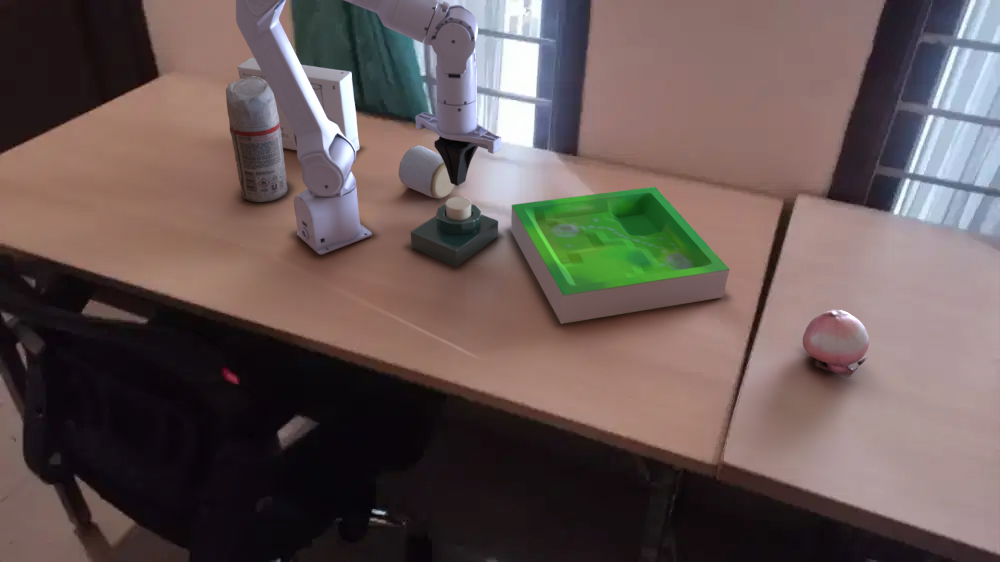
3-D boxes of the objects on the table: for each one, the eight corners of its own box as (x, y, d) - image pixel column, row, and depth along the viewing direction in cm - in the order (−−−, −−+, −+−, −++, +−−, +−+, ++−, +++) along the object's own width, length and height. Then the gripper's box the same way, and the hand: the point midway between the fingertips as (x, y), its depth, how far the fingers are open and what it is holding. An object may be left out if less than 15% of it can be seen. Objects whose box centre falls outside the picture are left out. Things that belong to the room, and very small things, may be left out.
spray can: (297, 182, 139) (280, 74, 127) (281, 205, 132) (263, 93, 121) (251, 179, 139) (230, 72, 128) (234, 202, 133) (210, 91, 121)
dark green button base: (456, 267, 118) (455, 239, 115) (411, 247, 122) (409, 220, 119) (498, 236, 125) (498, 209, 122) (454, 219, 129) (454, 192, 126)
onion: (847, 341, 105) (863, 299, 101) (871, 380, 99) (889, 337, 94) (789, 342, 105) (802, 299, 100) (810, 381, 98) (825, 338, 94)
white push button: (460, 224, 119) (460, 212, 118) (440, 216, 121) (440, 204, 120) (476, 213, 122) (476, 201, 121) (456, 205, 124) (456, 194, 123)
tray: (561, 323, 107) (563, 295, 104) (511, 231, 126) (511, 204, 124) (723, 297, 113) (729, 269, 110) (651, 212, 132) (655, 186, 129)
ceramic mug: (433, 207, 132) (432, 166, 128) (398, 192, 136) (396, 152, 132) (472, 185, 139) (472, 146, 135) (438, 171, 143) (437, 133, 139)
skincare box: (250, 145, 151) (235, 65, 142) (265, 133, 155) (251, 56, 146) (348, 160, 146) (339, 79, 137) (361, 148, 150) (353, 69, 141)
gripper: (514, 101, 110) (511, 185, 117) (435, 78, 116) (438, 159, 124) (484, 117, 105) (484, 204, 113) (404, 92, 112) (409, 175, 120)
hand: (458, 182), depth 118 cm, fingers closed
